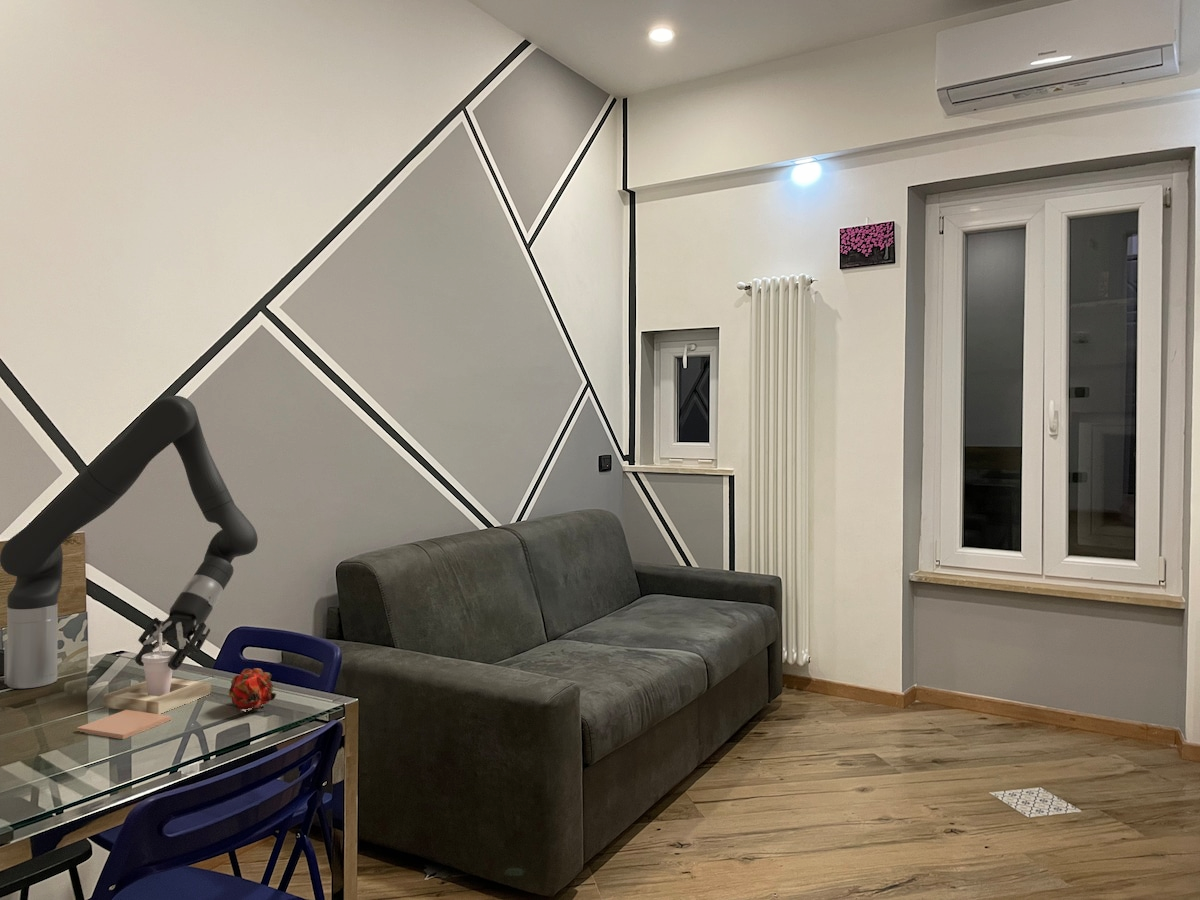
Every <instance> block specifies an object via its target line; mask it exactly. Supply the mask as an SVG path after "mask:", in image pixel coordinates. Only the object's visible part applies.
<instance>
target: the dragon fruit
mask: <svg viewBox="0 0 1200 900" xmlns="http://www.w3.org/2000/svg"><path fill="white" fill-rule="evenodd" d="M272 677H273V675H272V674H271V673H270V672H268V671H267V672H266V671H264V670H262V669H261V668H258V667H257V668H256V667H255V668H252V669H251V667H249V668H244V669H243V670H242V671H241V672H240V674H237V675H235V676H234V677H233V678H232V680H231V681H230V684H231V685H230V687H229V691H228V696H229V697H228V698H231V703H232V705H233V706H234V707H238V710H240V709H248V708H252V707H253V709H260V708H262V707H261V705H262V704H266V703H267V704H268V703H269V702H270V701H273V700H275V698H276V697H277V693H276V692H273V691H274V686H275V684H274V683H273V682H272V680H271V678H272ZM267 704H266V705H267ZM246 712H249V711H248V710H246Z"/></svg>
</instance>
